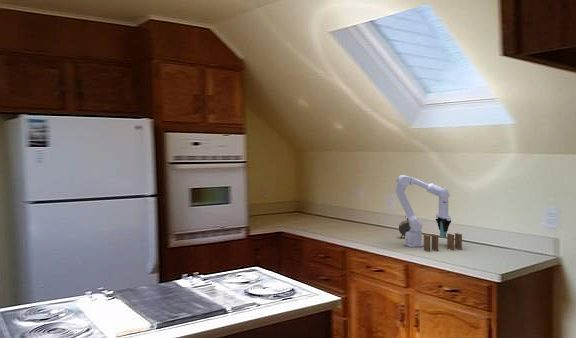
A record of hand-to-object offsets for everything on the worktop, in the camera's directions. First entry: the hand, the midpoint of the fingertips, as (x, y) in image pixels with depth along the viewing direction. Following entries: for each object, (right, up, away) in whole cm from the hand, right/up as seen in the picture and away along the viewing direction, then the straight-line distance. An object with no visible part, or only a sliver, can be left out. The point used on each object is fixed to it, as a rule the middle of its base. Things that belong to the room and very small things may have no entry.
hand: (443, 230), depth 306 cm
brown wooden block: (-13, -10, -13) cm, 21 cm away
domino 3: (+1, -10, -10) cm, 14 cm away
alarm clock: (-15, -8, +26) cm, 32 cm away
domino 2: (-9, -10, -12) cm, 18 cm away
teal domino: (0, -3, 0) cm, 3 cm away
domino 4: (+6, -10, -9) cm, 15 cm away
